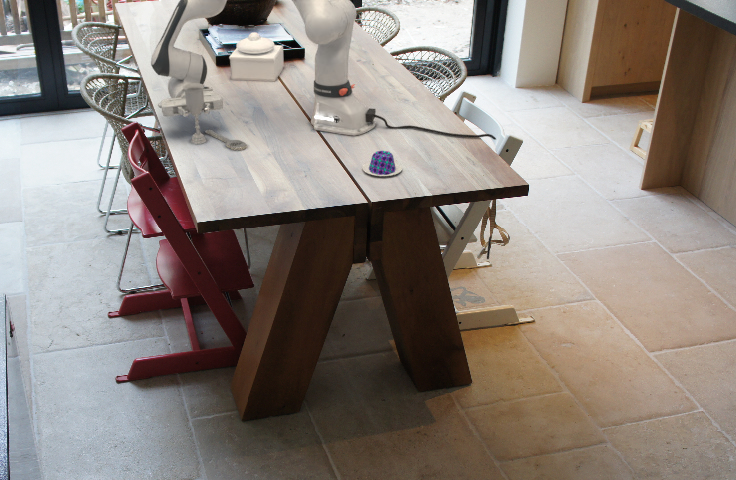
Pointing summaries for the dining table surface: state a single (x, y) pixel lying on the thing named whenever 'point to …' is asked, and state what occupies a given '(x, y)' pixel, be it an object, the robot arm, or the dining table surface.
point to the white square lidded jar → (256, 59)
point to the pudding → (382, 164)
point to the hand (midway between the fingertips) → (196, 112)
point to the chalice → (195, 107)
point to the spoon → (228, 141)
